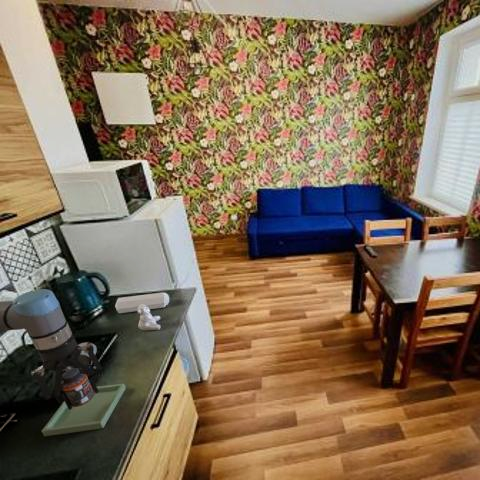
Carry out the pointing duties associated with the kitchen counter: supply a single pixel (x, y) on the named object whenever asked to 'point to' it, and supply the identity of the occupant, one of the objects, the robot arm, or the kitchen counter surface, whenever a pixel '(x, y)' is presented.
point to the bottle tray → (86, 412)
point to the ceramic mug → (83, 356)
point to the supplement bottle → (77, 387)
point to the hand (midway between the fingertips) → (83, 398)
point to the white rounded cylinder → (142, 302)
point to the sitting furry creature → (147, 319)
